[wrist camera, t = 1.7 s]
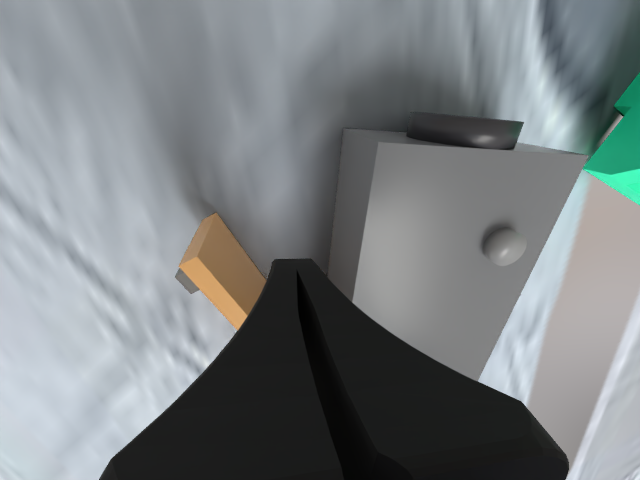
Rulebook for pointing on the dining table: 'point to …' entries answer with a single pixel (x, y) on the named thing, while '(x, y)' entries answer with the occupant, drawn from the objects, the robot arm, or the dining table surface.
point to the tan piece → (221, 271)
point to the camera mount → (622, 148)
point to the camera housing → (444, 228)
